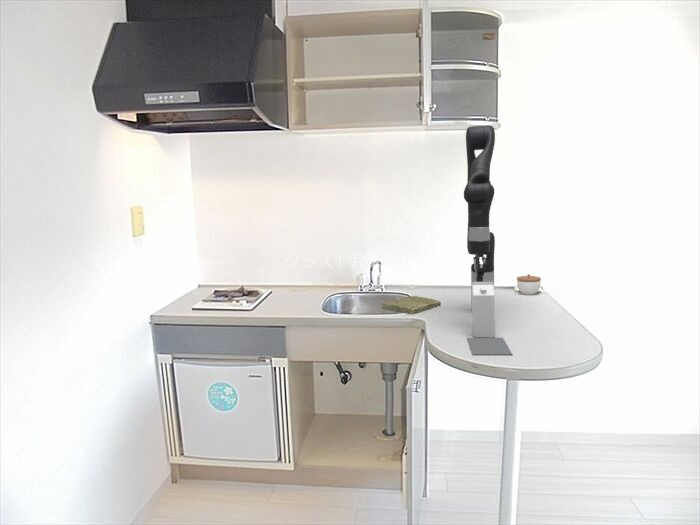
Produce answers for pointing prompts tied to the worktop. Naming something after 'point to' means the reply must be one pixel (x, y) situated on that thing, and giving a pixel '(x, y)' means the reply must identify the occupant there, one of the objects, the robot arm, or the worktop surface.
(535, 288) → the lidded jar
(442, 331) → the worktop surface
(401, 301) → the olive green towel
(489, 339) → the mat
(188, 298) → the worktop surface
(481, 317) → the milk carton
